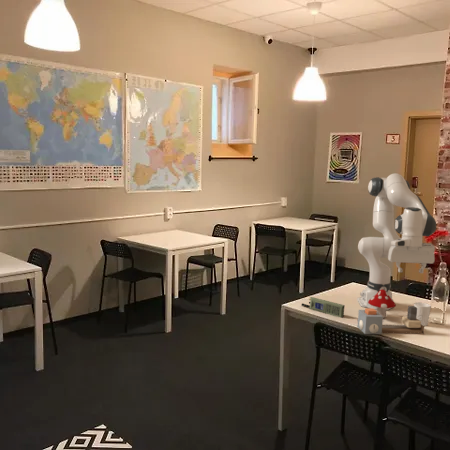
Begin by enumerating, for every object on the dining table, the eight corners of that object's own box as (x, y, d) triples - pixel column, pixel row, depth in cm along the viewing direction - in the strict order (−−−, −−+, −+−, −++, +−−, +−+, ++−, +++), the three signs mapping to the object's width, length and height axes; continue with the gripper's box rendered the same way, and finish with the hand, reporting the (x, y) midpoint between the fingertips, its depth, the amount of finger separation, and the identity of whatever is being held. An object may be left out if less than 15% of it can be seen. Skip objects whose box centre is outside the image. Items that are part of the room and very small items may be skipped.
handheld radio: (341, 318, 250) (299, 307, 266) (344, 317, 252) (303, 306, 269) (342, 305, 249) (300, 295, 265) (345, 304, 251) (304, 294, 268)
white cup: (420, 327, 240) (422, 307, 239) (408, 322, 247) (410, 302, 246) (432, 325, 243) (434, 306, 242) (420, 320, 251) (422, 301, 249)
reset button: (364, 314, 234) (365, 308, 233) (372, 314, 234) (373, 308, 234) (367, 317, 230) (368, 310, 229) (376, 317, 230) (376, 311, 230)
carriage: (401, 322, 238) (403, 304, 236) (413, 322, 238) (415, 304, 237) (408, 327, 231) (410, 309, 229) (420, 327, 231) (422, 309, 230)
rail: (374, 327, 237) (374, 320, 237) (415, 327, 239) (416, 320, 239) (380, 333, 229) (381, 326, 229) (423, 333, 231) (424, 326, 231)
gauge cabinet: (356, 326, 237) (358, 309, 236) (373, 326, 238) (374, 309, 237) (364, 334, 227) (366, 316, 226) (381, 334, 228) (383, 316, 227)
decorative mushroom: (395, 323, 244) (398, 294, 242) (366, 320, 248) (369, 291, 246) (393, 315, 258) (396, 287, 256) (366, 312, 261) (369, 284, 259)
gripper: (432, 243, 227) (430, 272, 227) (387, 241, 228) (386, 271, 228) (437, 243, 221) (436, 274, 221) (391, 242, 221) (390, 272, 222)
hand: (410, 272), depth 224 cm, fingers open, 8 cm apart
